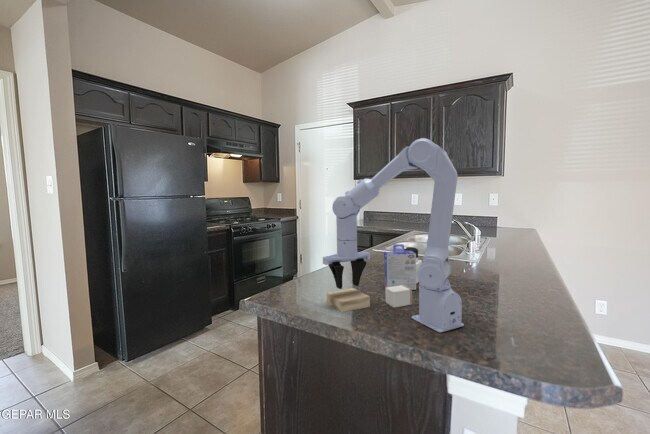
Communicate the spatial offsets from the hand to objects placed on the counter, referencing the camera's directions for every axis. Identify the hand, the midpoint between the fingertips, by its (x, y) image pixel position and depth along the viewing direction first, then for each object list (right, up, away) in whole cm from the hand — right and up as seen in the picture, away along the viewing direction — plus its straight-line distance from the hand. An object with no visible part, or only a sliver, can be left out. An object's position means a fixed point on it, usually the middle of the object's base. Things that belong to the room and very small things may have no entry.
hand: (347, 286), depth 87 cm
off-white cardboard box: (+12, -3, -1) cm, 12 cm away
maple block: (0, -5, 0) cm, 5 cm away
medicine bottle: (+24, -3, +23) cm, 34 cm away
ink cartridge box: (+19, -4, +15) cm, 24 cm away
